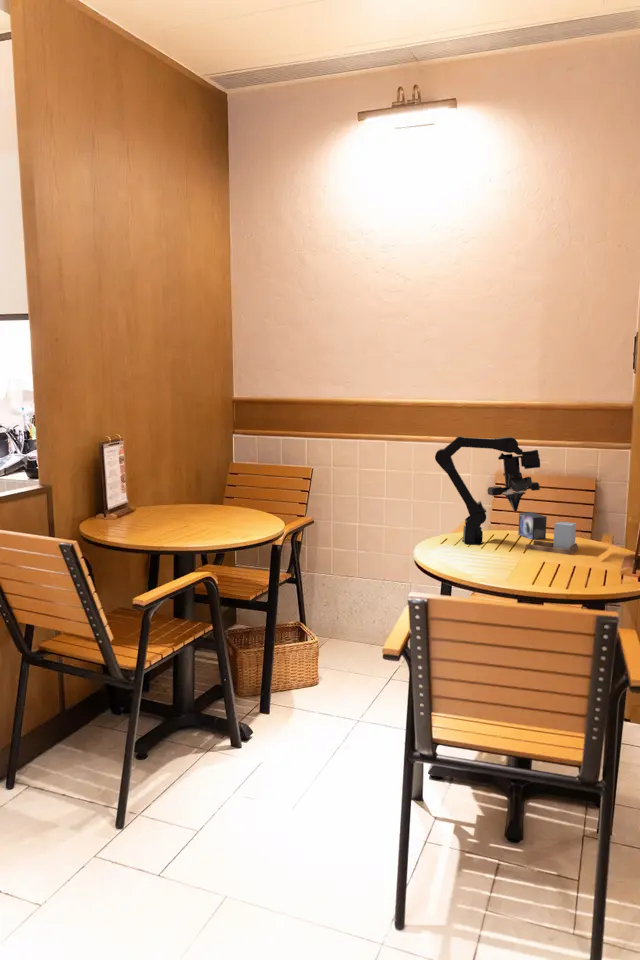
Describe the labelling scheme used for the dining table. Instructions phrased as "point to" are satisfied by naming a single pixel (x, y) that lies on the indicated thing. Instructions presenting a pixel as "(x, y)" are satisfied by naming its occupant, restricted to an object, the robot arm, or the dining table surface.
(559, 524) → the block
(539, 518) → the small box
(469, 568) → the dining table surface
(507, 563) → the dining table surface
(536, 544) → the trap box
